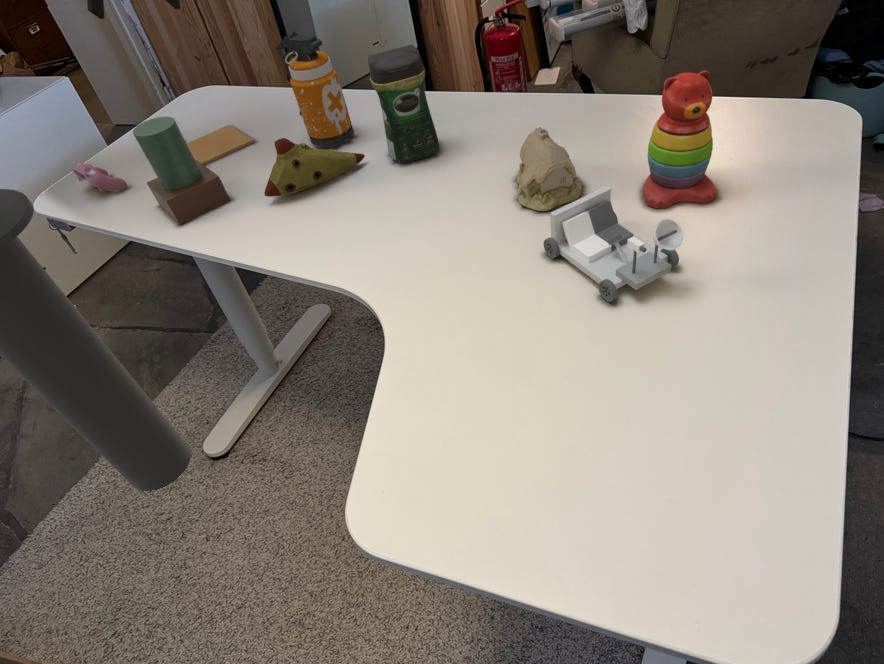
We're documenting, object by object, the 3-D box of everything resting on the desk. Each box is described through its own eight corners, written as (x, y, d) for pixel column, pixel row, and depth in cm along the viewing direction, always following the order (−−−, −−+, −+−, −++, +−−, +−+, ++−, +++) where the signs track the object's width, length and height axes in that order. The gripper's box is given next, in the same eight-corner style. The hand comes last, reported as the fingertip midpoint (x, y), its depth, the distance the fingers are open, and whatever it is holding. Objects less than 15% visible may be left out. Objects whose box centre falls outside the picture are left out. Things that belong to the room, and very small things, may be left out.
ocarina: (360, 157, 117) (346, 106, 109) (373, 167, 113) (359, 115, 106) (263, 199, 110) (241, 148, 103) (274, 210, 107) (252, 158, 100)
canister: (334, 153, 119) (300, 46, 105) (295, 144, 124) (257, 41, 110) (363, 132, 124) (334, 27, 110) (324, 124, 129) (291, 23, 114)
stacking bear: (648, 210, 93) (658, 95, 80) (634, 176, 100) (642, 66, 87) (719, 202, 92) (741, 84, 80) (701, 168, 99) (718, 56, 87)
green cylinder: (156, 181, 109) (126, 128, 102) (192, 165, 112) (165, 112, 105) (171, 194, 105) (140, 140, 98) (207, 177, 108) (180, 123, 101)
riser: (159, 206, 113) (146, 182, 110) (208, 183, 117) (196, 159, 114) (180, 225, 108) (166, 200, 104) (230, 200, 111) (218, 176, 108)
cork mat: (179, 149, 129) (177, 146, 129) (229, 127, 134) (228, 124, 134) (201, 166, 123) (200, 163, 122) (253, 142, 127) (252, 139, 127)
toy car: (702, 217, 74) (630, 255, 71) (692, 279, 81) (626, 316, 78) (606, 163, 85) (540, 194, 82) (604, 222, 93) (543, 252, 89)
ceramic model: (593, 200, 97) (594, 142, 90) (526, 217, 96) (522, 159, 89) (563, 160, 107) (562, 104, 99) (502, 175, 106) (496, 120, 98)
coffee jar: (433, 137, 119) (414, 36, 105) (444, 154, 113) (425, 50, 100) (385, 150, 117) (360, 49, 104) (394, 168, 112) (369, 65, 99)
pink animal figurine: (95, 190, 124) (62, 170, 118) (108, 172, 125) (75, 151, 119) (117, 203, 119) (83, 182, 113) (130, 184, 120) (97, 162, 114)
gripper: (211, -119, 99) (218, 12, 100) (74, -97, 103) (83, 29, 103) (182, -155, 92) (191, -14, 93) (37, -131, 95) (46, 6, 96)
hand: (134, 9), depth 98 cm, fingers open, 13 cm apart
